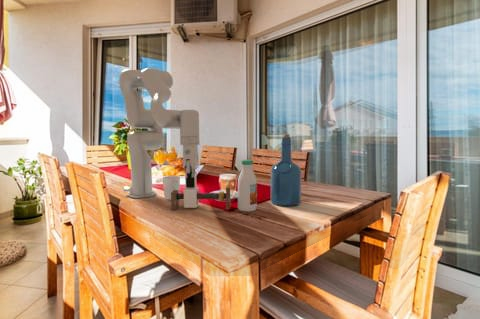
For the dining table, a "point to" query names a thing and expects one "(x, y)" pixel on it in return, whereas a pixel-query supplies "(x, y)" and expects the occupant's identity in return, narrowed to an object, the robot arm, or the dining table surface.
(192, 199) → the marker sleeve
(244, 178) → the milk bottle
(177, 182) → the white cup
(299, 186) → the wine bottle
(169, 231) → the dining table surface
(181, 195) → the cord rail
